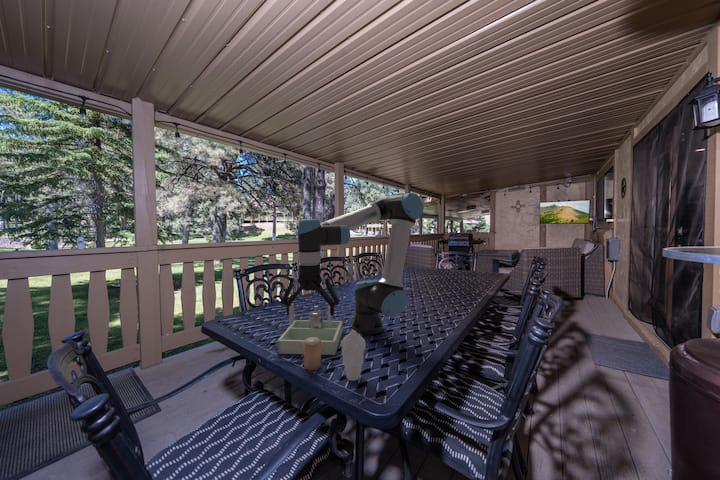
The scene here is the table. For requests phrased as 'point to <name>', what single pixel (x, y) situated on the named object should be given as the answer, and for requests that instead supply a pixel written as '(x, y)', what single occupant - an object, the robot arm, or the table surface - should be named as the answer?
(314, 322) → the tin
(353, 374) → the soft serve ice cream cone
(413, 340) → the table surface
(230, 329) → the table surface
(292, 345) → the tray
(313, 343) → the jar
